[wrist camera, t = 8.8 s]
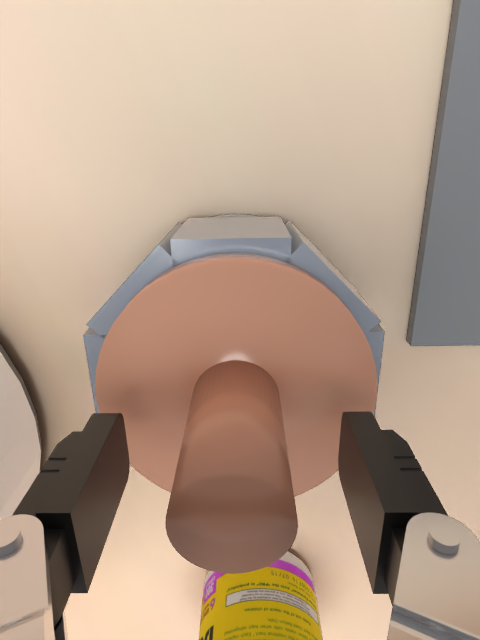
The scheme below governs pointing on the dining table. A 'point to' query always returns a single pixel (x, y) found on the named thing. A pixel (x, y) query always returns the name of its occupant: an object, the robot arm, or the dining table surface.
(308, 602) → the supplement bottle
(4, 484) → the bucket
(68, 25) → the dining table surface
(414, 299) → the mat
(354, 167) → the dining table surface
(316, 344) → the lid
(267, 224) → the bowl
